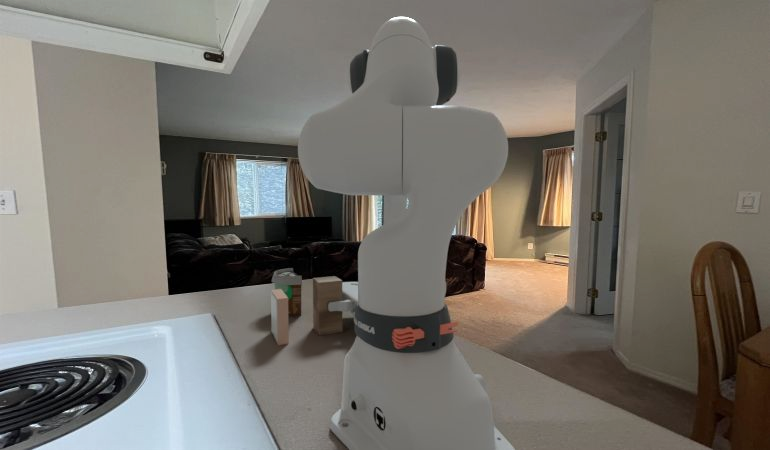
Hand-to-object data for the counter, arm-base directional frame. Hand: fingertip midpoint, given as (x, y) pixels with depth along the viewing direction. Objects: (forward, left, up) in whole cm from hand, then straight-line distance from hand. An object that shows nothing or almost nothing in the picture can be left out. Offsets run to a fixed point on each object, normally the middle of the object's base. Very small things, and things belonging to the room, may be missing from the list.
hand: (323, 302), depth 75 cm
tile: (0, +9, -6) cm, 11 cm away
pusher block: (0, -1, -6) cm, 6 cm away
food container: (+17, +5, -6) cm, 19 cm away
